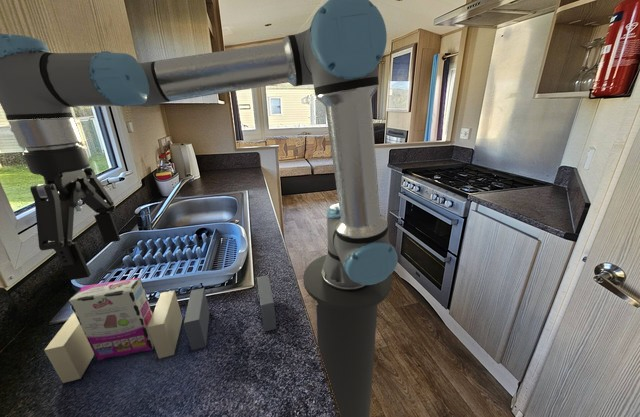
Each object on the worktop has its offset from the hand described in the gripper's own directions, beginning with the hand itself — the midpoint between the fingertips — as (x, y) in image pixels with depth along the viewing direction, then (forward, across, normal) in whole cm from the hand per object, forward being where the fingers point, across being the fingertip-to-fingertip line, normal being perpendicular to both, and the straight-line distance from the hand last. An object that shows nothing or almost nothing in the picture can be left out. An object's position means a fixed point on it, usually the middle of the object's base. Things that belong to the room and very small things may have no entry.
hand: (98, 257), depth 51 cm
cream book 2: (+24, 0, +8) cm, 25 cm away
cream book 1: (+23, 0, -9) cm, 25 cm away
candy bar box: (+24, 0, -1) cm, 24 cm away
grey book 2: (+24, 0, +30) cm, 38 cm away
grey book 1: (+24, 0, +14) cm, 28 cm away
